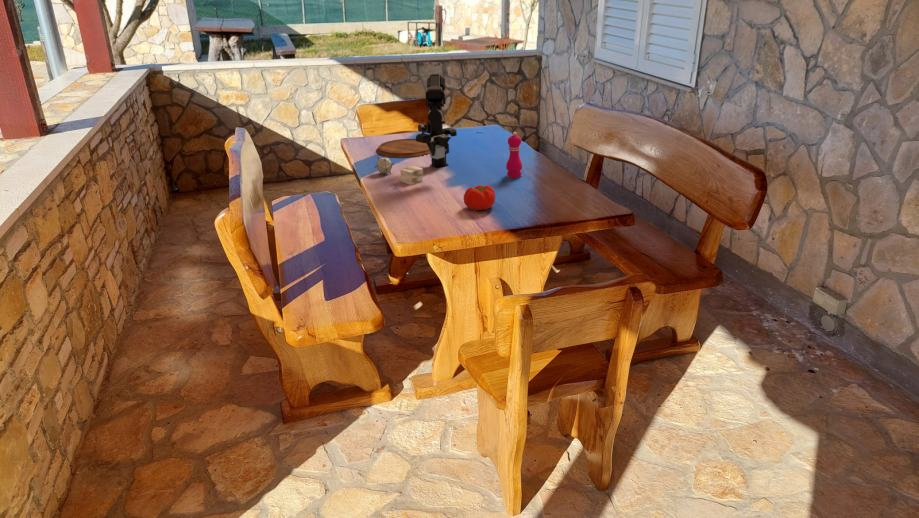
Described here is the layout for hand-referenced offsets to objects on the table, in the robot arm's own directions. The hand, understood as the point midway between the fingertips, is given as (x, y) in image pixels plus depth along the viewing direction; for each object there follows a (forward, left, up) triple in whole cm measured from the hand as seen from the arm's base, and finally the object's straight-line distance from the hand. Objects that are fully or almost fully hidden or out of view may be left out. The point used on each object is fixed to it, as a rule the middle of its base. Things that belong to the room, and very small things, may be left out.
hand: (437, 154), depth 274 cm
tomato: (+10, +39, -12) cm, 42 cm away
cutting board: (-23, -53, -13) cm, 59 cm away
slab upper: (+8, -8, -9) cm, 15 cm away
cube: (0, 0, -1) cm, 1 cm away
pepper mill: (-29, +19, -12) cm, 36 cm away
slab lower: (+8, -9, -12) cm, 17 cm away
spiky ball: (+10, -26, -12) cm, 31 cm away
